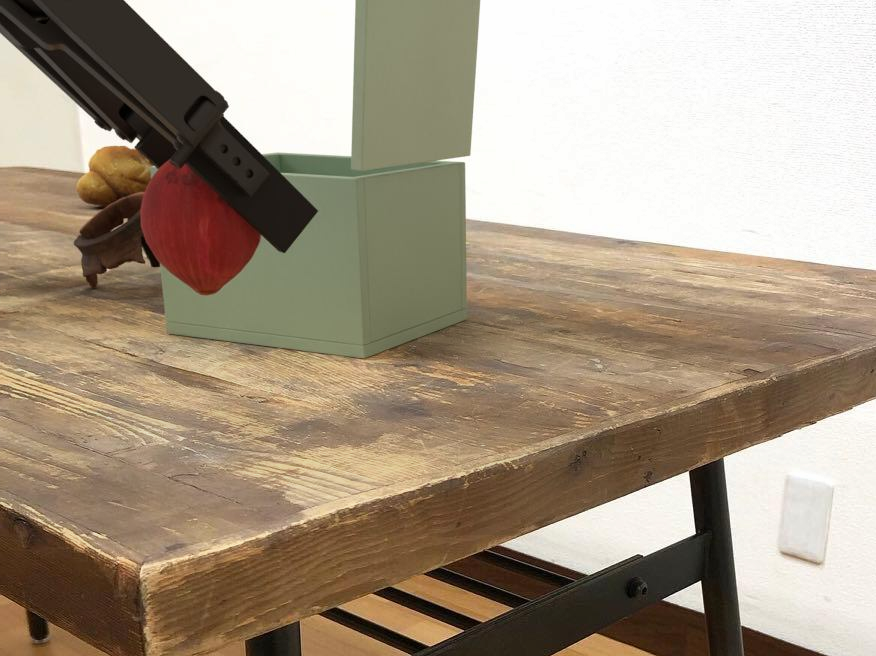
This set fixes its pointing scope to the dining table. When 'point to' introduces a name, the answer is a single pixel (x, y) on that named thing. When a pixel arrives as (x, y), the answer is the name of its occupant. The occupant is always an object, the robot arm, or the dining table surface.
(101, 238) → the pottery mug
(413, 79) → the lid
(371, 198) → the box
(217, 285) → the onion
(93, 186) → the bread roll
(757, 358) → the dining table surface
